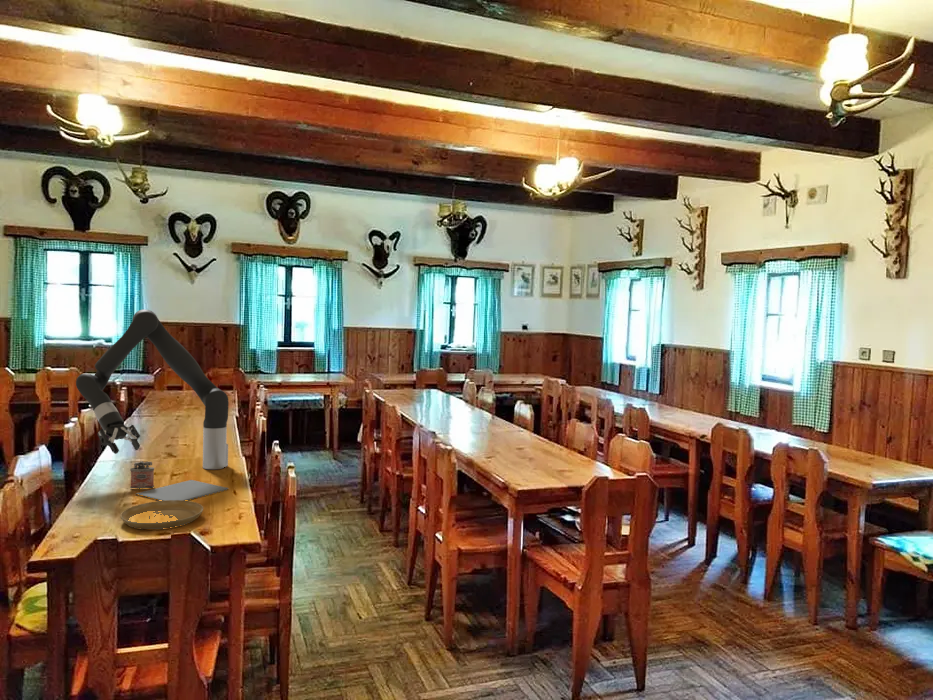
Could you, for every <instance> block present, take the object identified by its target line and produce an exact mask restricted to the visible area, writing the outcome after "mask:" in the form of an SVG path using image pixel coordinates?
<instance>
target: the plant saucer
mask: <svg viewBox="0 0 933 700" xmlns="http://www.w3.org/2000/svg"><path fill="white" fill-rule="evenodd" d="M147 511H155V512H153V513H156V514H159V513H162V514H163V515H164V516H165V515H168V516H169V518H172V517H173V516H175V517H176V518H177V519H178V520H176V521H170V522H168V521H167V522H162V523H158V522H156V523H137V522H131V521H128V520H129V518H130V517H132V516H134V515H136V514H140V513H143V512H147ZM158 511H161V512H158ZM203 511H204V506H203V505H202V504H200V503H198V502H195V501H192V500H188V501H183V500H166V501H158V500H155V501H150V502H144V503H141V504H140V503H139V504H137V505H133V506H130V507H128V508H127V509H125V510H123V511H122V512H121V513H120V519H121V520H122V521H123V522H124V524H126V525H127V526H129V527H130V528H133V527H135V528H134V529H136V528H141V529H140V530H143V529H162V530H164V529H163V528H170V527H175V526H180V525H183V526H185V525H184V524H186V525H188V524H187V523H189V524H191V523H192V522H194V521H195V520H196V519H198V518H199V517H200V516H201V514H202V513H203ZM162 514H160V515H162ZM170 515H173V516H170ZM155 516H156V515H155ZM155 516H154V517H155ZM149 519H150V516H149ZM190 522H191V523H190ZM180 527H181V526H180ZM170 529H171V528H170Z"/></svg>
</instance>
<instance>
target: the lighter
mask: <svg viewBox="0 0 933 700" xmlns="http://www.w3.org/2000/svg"><path fill="white" fill-rule="evenodd" d="M149 466H151V467H149ZM152 466H153V462H152V461H142V460H140V461H139V462H138V461H137V462H134V463H133V467H131V468H130V470H129V471H130V487H129V489H130V488H139V489H140V488H153V487H154V488H155V485H154V484H155V483H154V481H155V479H154V475H155V473H154V472H155V467H152ZM154 488H153V489H154Z"/></svg>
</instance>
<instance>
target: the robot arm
mask: <svg viewBox="0 0 933 700" xmlns="http://www.w3.org/2000/svg"><path fill="white" fill-rule="evenodd" d="M145 338H147V339H148V340H149V341H150V342H151V343H152V344H153V345H154V347H155V348H156V350H157V351H158V353H159V355H160V356H161V357H162V358H163V360H164V361H165V363H166V364H167V365H168V366H169V368H170V369H171V370H172V371H173V372H174V373H175V374H176V375H177V376H178V377H179V378H180V379H181V380H182V381H184V383H186V384H187V385H188V386H189V387H190V388H191V389H192V390H193V391H194V392H195V394H196V395H197V396H198V397H199V399H200V400H201V402H202V404H203V405H204V407H205V408H204V420H203V422H202V423H203V424H202V426H203V428H202V429H203V430H202V431H203V432H202V434H203V435H202V437H203V438H202V468H203V469H205V470H220V469H224V467H225V468H227V467H228V466H229V443H227V433H228V431H227V429H228V428H227V423H228V421H229V397H228V394H227V393H226V392H225V391H224V390H222V389H220V388H219V387H217V386H216V385H215V384H214V383H213V382H212V381H211V380H210V379H209V378H208V377H207V376H206V375H205V373H204V371H203V369H202V368H201V366H200V365H199V363H198V362H197V360H196V359H195V358H194V357H193V356H192V354H191V353H190V352H189V351H188V350H187V349H186V348H185V347H184V346H183V344H181V343H180V342H179V341H178V340H177V339H176V338H175V337H173V336H172V334H170V332H169V331H168V330H167V329H166V328H165V326H164V325H163V324H162V322H161V321H160V320H159V318H158V315H157V314H156V313H155V312H154V311H152V310H150V309H147V308H146V309H145V308H144V309H140V310H137V311H135V313H134V314H133V317H132V321H131V323H130V325H129V326H128V328H127V329H126V331H125V332H124V333H123V334H122V335H121V336H120V338H119V339H118V340H117V341H116V342H114V343H113V344H112V345H111V346H110V347H109V348H108V349H107V350H106V351H105V352H104V353H103V354H102V356H100V358H99V359H98V360H97V361H96V362H95V364H94V368H95V370H96V372H95V374H94V375H93V374H91V373H87V372H85V373H82V374H79V375H78V376H77V378H76V380H75V386H76V389H77V391H78V392H79V393H80V394H81V395H82V397H83V398H84V399H85V400H86V401H87V402H88V404H89V405H90V407H91V409H92V411H93V413H94V415H95V418H96V419H97V422H98V423H99V425H100V427H101V429H100V430H99V431H98V432H97V436H98V438H99V441H100V443H101V445H102V446H104V447H105V446H108V447H109V448H110V450H111V452H112V453H113V454H115V455H116V454H118V453H119V452H120V449H119V447H118V445H117V443H116V442H115V441H117V440H125V441H129V442H130V443H131V445H132V447H133V448H134V450H135V451H138V450H139V449H140V447H141V444H140V442H139V441H138V440H139V438H140V437H141V434H140V433H139V432H138V430H137V429H136V427H135V425H134V424H130V426H126V425H125V421H124V419H123V418H122V415H121V414H120V412H119V410H118V409H117V407H116V406H115V405H114V403H113V402H112V400H111V398H110V397H109V395H108V394H107V393H106V392H105V391H104V390H105V388H106V386H107V385H108V382H109V380H110V379H111V377H112V374H113V373H114V372H115V371H116V370H117V368H118V367H119V366H120V365H121V364H122V363H123V362H124V360H126V358H127V357H128V356H129V354H130V353H131V352H132V351H133V350H134V349H135V348H136V346H137V345H139V343H140V342H142V341H143V340H144V339H145ZM107 436H108V437H109V438H108V437H107Z"/></svg>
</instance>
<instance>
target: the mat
mask: <svg viewBox="0 0 933 700" xmlns="http://www.w3.org/2000/svg"><path fill="white" fill-rule="evenodd" d="M227 489H228V490H229V487H225V486H221V485H217V484H211V483H207V482H204V481H203V482H202V481H198V480H193V479H189V480H185V481H181V482H177V483H173V484H172V483H171V484H169V485H165V486H161V487H160V486H159V487H156V488H153V489H147V490H144V491H140V492H136V493H135V495H136V494H139V495H143V496H147V497H150V498H154V499H158V500H162V501H166V500H183V501H185V500H188V501H191V500H190V499H192V500H195V499H194V498H196V499H199V498H203V497H206V496H205V495H207V496H209V494H210V495H214V494H217V492H218V493H220V491H221V492H224V490H225V491H227ZM213 493H214V494H213ZM202 496H203V497H202ZM198 497H199V498H198ZM150 498H149V499H150ZM154 499H153V500H154ZM158 500H157V501H158Z"/></svg>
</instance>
